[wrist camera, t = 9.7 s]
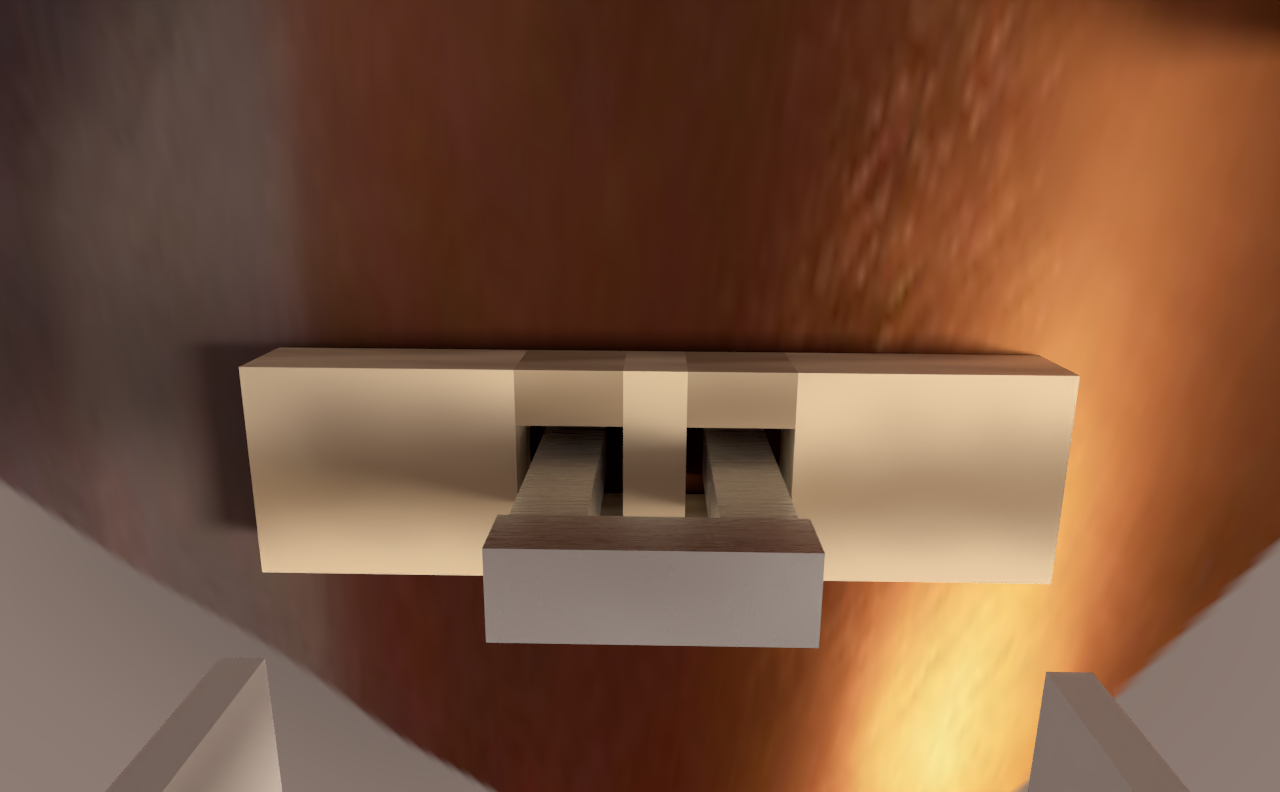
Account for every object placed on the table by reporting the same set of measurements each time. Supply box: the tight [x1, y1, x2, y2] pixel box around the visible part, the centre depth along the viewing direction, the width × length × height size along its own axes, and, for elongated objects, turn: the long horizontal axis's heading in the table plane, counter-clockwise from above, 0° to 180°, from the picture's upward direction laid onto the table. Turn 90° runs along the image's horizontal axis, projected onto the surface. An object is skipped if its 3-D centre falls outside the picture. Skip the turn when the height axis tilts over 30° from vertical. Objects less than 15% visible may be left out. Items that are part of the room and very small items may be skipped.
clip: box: [482, 426, 825, 648], centre depth 25 cm, size 2×8×11 cm, turn 90°
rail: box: [239, 347, 1080, 584], centre depth 29 cm, size 7×26×3 cm, turn 90°
